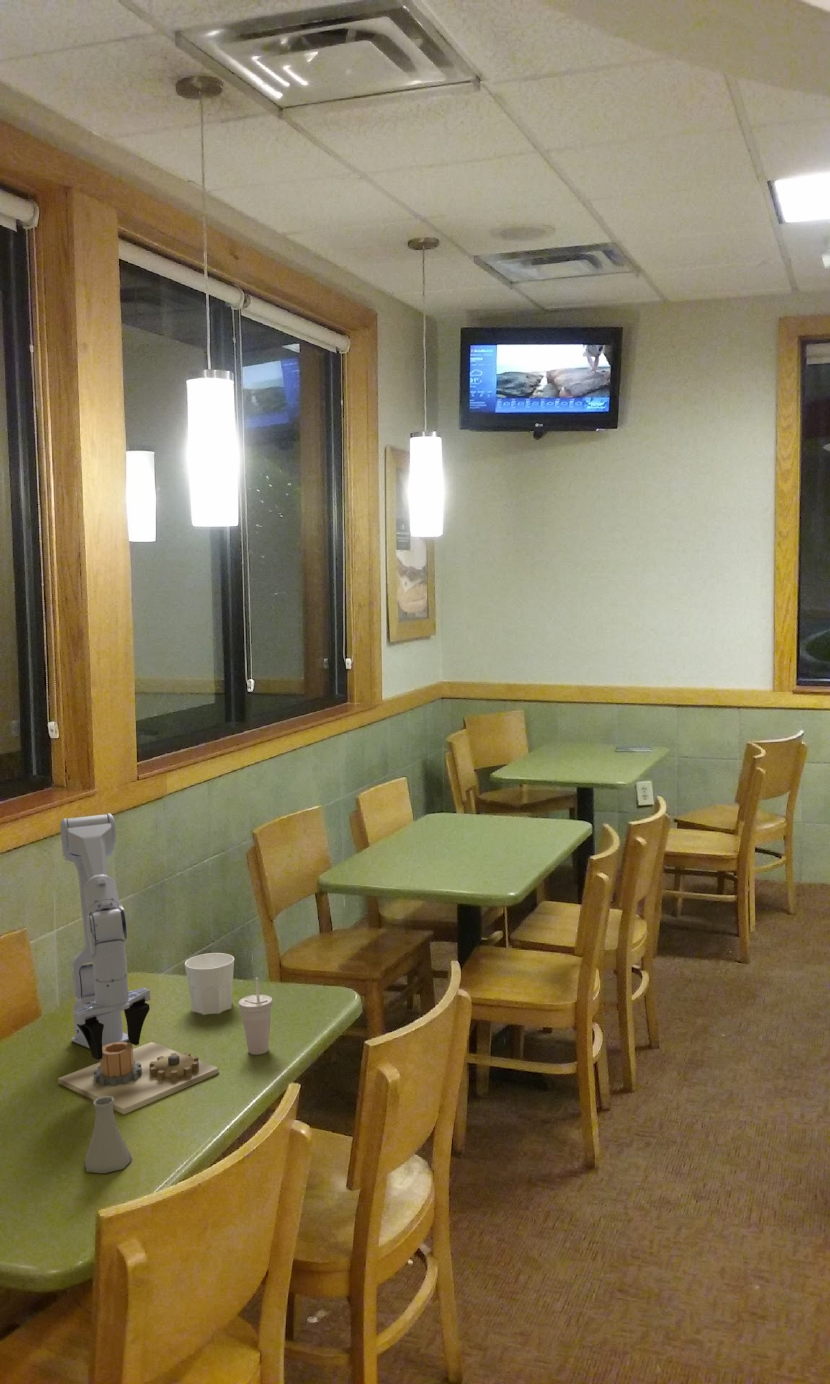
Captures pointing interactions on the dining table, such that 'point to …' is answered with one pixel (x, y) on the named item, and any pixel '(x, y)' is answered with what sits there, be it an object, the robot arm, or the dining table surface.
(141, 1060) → the carrier
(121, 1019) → the robot arm
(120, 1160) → the flask
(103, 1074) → the planet gear
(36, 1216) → the dining table surface
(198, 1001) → the cup
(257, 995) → the smoothie
